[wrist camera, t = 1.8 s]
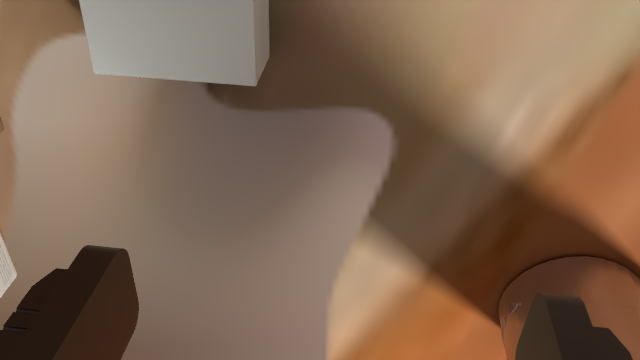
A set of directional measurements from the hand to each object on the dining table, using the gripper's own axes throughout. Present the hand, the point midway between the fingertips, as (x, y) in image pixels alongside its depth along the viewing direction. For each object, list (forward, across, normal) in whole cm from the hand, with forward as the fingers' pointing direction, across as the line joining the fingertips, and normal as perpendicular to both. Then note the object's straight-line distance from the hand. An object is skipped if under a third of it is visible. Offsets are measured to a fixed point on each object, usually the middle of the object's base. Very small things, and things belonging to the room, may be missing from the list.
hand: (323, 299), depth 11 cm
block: (+21, +9, 0) cm, 22 cm away
